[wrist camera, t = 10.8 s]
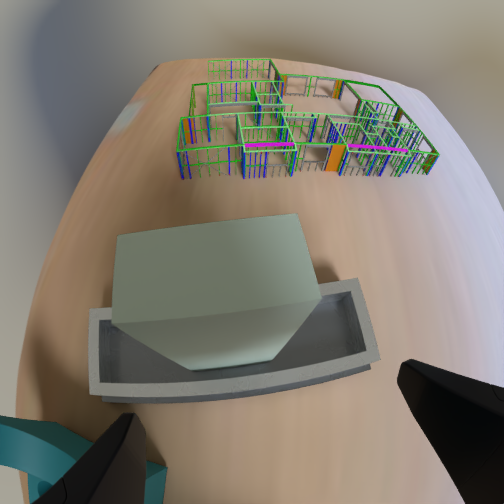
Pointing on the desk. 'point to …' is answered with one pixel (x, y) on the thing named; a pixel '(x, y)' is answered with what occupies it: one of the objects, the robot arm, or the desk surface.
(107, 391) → the door track
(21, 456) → the teal curved piece
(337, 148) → the house model
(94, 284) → the desk surface
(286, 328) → the door panel
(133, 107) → the desk surface
